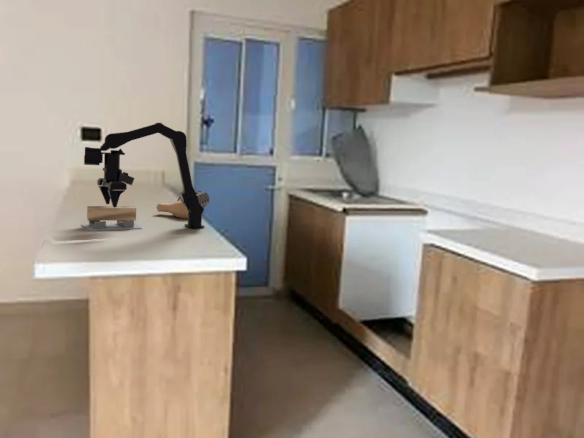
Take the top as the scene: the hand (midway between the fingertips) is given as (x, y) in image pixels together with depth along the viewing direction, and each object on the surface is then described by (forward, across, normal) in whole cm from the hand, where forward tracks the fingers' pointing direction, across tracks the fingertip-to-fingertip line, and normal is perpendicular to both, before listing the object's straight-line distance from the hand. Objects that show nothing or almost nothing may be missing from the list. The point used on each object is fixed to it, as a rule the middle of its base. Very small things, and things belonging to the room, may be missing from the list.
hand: (111, 205), depth 215 cm
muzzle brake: (+9, +31, -49) cm, 59 cm away
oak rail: (+6, 0, 0) cm, 6 cm away
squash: (+9, +18, -35) cm, 40 cm away
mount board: (+8, 0, 0) cm, 9 cm away
